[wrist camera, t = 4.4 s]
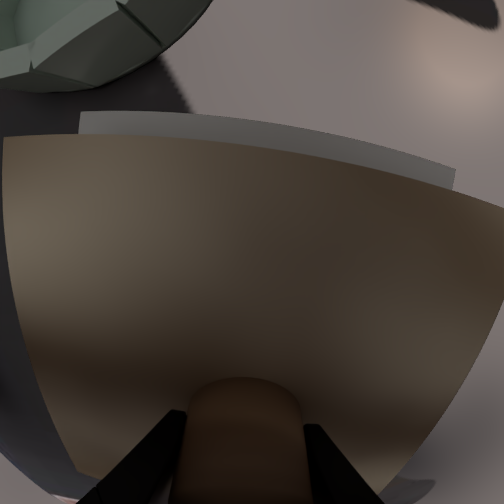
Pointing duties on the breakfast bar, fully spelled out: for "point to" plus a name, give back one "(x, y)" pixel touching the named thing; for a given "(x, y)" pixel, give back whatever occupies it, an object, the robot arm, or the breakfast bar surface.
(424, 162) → the mat
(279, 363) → the lid
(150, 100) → the breakfast bar surface
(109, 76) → the bowl
